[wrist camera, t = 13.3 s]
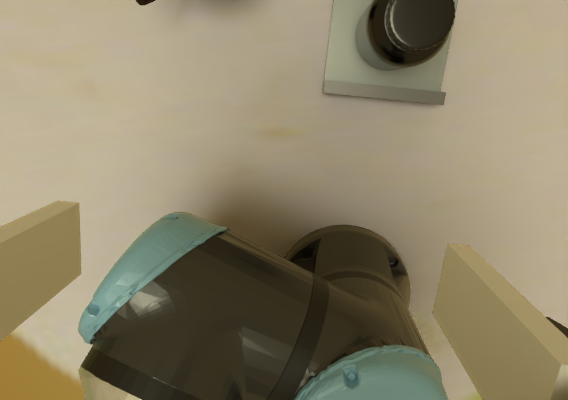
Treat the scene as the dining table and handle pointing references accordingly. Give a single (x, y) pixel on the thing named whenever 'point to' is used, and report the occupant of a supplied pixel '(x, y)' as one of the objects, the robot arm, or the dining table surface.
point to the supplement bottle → (403, 32)
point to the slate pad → (368, 80)
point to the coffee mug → (144, 2)
